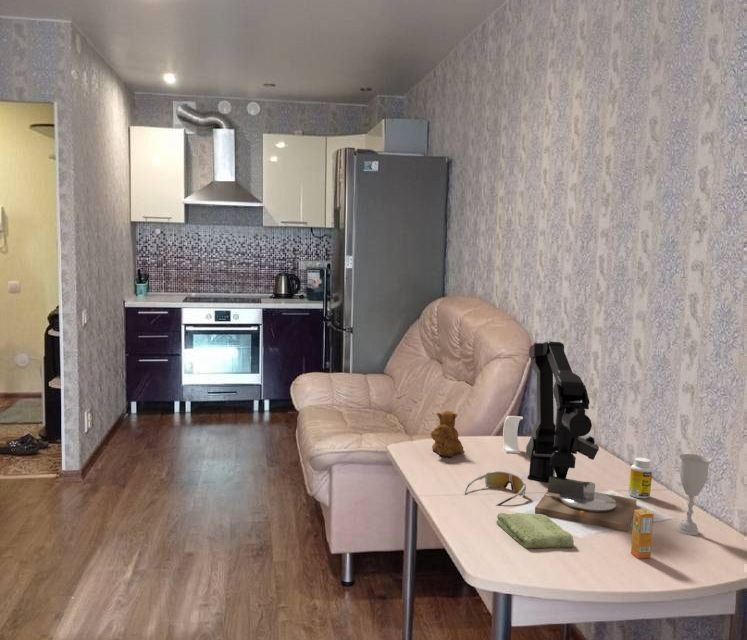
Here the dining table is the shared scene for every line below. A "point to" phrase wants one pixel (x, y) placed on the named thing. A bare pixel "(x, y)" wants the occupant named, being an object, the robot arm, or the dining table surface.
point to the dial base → (610, 519)
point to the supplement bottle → (640, 478)
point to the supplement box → (642, 534)
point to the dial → (580, 495)
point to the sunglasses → (503, 482)
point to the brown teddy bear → (446, 435)
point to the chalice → (692, 486)
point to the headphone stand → (511, 434)
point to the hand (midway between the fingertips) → (561, 485)
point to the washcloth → (534, 530)
